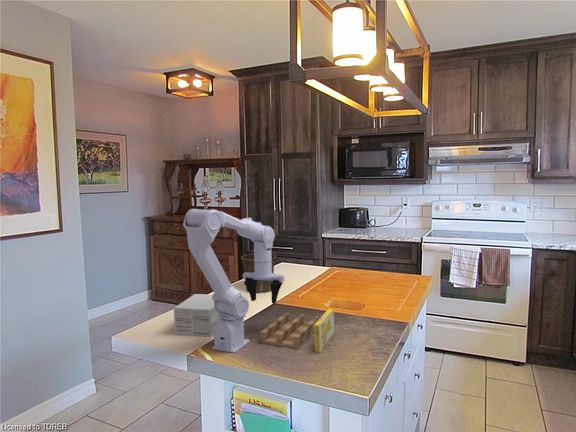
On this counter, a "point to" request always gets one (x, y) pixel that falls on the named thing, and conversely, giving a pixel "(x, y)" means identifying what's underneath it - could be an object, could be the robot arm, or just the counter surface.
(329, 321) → the candy box
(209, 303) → the supplement box
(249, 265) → the plant pot
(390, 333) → the counter surface
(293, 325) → the rack
